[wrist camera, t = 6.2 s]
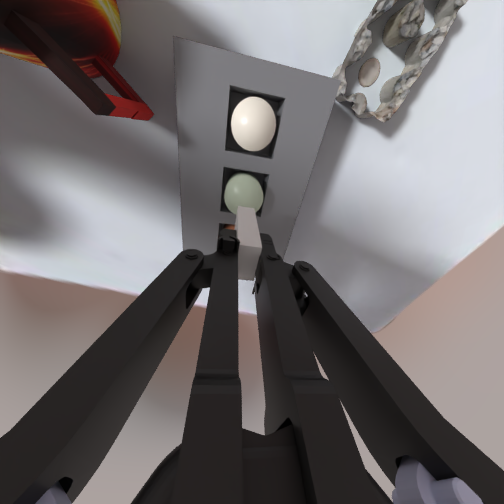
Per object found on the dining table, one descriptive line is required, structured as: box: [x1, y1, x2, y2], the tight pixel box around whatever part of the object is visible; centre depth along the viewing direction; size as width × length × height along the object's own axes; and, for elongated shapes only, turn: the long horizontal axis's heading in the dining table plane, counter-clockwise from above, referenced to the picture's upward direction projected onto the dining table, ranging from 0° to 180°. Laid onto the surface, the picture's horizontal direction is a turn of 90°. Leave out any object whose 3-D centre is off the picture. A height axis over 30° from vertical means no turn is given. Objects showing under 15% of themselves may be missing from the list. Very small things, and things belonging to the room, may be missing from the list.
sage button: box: [224, 171, 263, 215], centre depth 21 cm, size 4×4×3 cm
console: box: [173, 36, 341, 259], centre depth 23 cm, size 14×22×5 cm, turn 170°
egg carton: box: [332, 0, 468, 122], centre depth 17 cm, size 11×8×4 cm
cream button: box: [231, 97, 276, 151], centre depth 18 cm, size 4×4×3 cm
